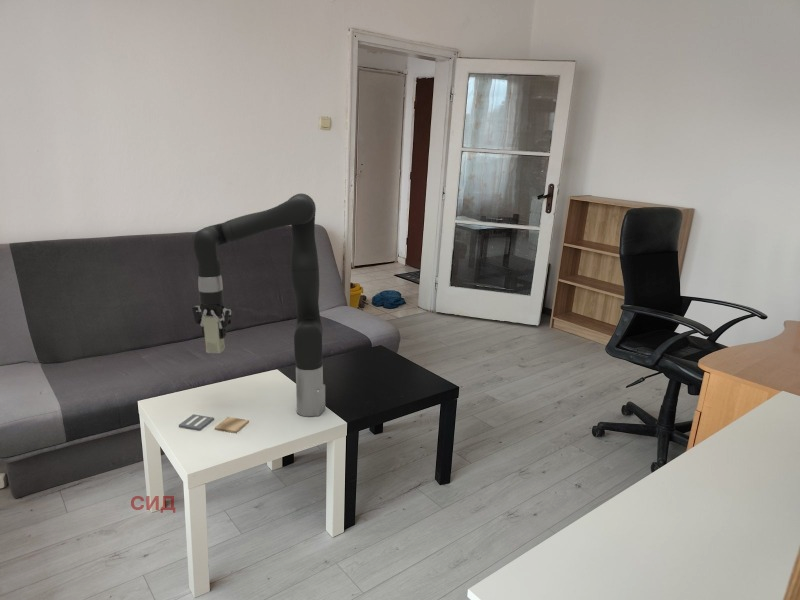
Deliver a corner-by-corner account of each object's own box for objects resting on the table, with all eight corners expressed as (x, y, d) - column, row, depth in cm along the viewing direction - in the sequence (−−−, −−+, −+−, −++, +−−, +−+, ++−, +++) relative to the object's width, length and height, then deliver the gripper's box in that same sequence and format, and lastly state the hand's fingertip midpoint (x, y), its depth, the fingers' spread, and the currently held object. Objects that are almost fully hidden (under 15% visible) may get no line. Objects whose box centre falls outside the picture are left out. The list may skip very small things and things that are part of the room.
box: (225, 349, 191) (223, 313, 188) (220, 354, 187) (217, 317, 184) (210, 348, 192) (207, 312, 188) (204, 353, 188) (202, 316, 184)
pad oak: (249, 422, 188) (248, 420, 188) (236, 433, 181) (236, 431, 180) (227, 418, 190) (227, 416, 190) (214, 429, 183) (214, 427, 182)
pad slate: (214, 419, 189) (213, 417, 189) (200, 430, 182) (199, 428, 182) (193, 416, 191) (193, 413, 191) (178, 427, 184) (178, 424, 183)
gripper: (236, 287, 185) (239, 336, 190) (198, 284, 189) (202, 331, 193) (223, 293, 178) (227, 343, 183) (184, 289, 182) (188, 338, 186)
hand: (214, 337), depth 188 cm, fingers closed on box, 5 cm apart
